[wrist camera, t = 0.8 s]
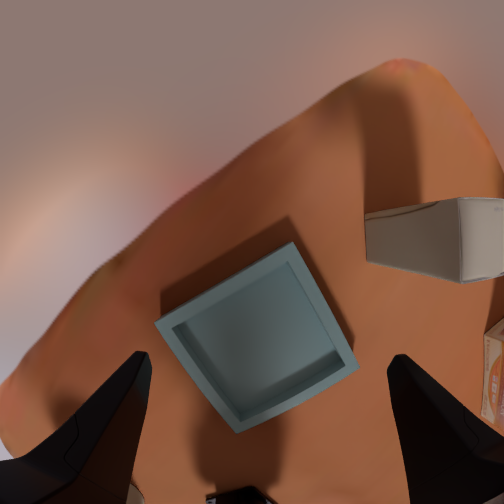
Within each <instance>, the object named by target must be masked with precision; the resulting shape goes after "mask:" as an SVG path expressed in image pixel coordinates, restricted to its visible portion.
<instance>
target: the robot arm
mask: <svg viewBox="0 0 504 504" xmlns="http://www.w3.org/2000/svg"><path fill="white" fill-rule="evenodd" d="M151 375H152V365H151V362H150V359H149V355H148V353H147V352H143V351H135V352H134V353H133V354H132V355H131V356H130V357H129V358H128V359H127V360H126V361H125V362H124V363H123V364H122V365H121V366H120V367H119V368H118V369H117V370H116V371H115V372H114V373H113V374H112V375H111V376H110V377H109V378H108V379H107V380H106V381H105V382H104V383H103V384H102V385H101V386H100V387H99V388H98V389H97V390H96V391H95V392H94V393H93V394H92V395H91V396H90V398H89V399H88V400H87V401H86V402H85V403H84V404H83V405H82V406H81V407H80V408H79V409H78V410H77V411H76V412H75V414H73V415H72V416H71V417H70V418H69V419H68V420H67V421H66V422H65V423H64V424H63V425H62V426H61V427H60V428H58V429H57V430H56V431H55V432H54V433H53V434H51V435H50V436H49V437H48V438H47V439H45V440H44V441H43V442H41V443H40V444H39V445H38V446H36V447H35V448H34V449H33V450H31V451H30V452H29V453H27V454H26V455H24V456H21V457H19V458H15V459H10V460H3V461H0V504H126V502H127V497H128V491H129V486H130V481H131V476H132V471H133V466H134V462H135V457H136V453H137V448H138V444H139V440H140V435H141V431H142V427H143V423H144V419H145V415H146V410H147V404H148V397H149V389H150V382H151ZM387 377H388V384H389V390H390V397H391V404H392V409H393V413H394V418H395V422H396V426H397V431H398V435H399V440H400V445H401V450H402V455H403V460H404V465H405V471H406V477H407V483H408V490H409V498H410V504H504V437H503V436H502V435H500V434H499V433H497V432H496V431H495V430H493V429H492V428H491V427H489V426H488V425H487V424H485V423H484V422H483V421H481V420H480V419H479V418H478V417H476V416H475V415H474V414H473V413H472V412H471V411H469V410H468V409H467V408H466V407H465V406H463V404H462V403H461V402H459V401H458V400H457V399H456V398H455V397H454V396H453V395H452V394H451V393H449V392H448V391H447V390H446V389H445V388H444V387H443V386H442V385H440V384H439V383H438V382H437V381H436V380H435V379H434V378H432V377H431V376H430V375H429V374H428V373H427V372H426V371H424V370H423V369H422V368H421V367H420V366H419V365H418V364H416V363H415V362H414V361H413V360H412V359H411V358H410V357H408V356H407V355H406V354H398V355H395V356H394V358H393V360H392V361H391V363H390V365H389V366H388V369H387ZM206 503H207V504H274V503H273V502H271V501H270V500H269V499H268V498H267V497H265V496H264V495H263V494H262V493H261V492H260V491H258V490H257V489H256V488H255V487H253V486H248V487H245V488H242V489H239V490H236V491H233V492H229V493H226V494H222V495H219V496H215V497H211V498H207V499H206Z"/></svg>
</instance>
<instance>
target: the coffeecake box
mask: <svg viewBox="0 0 504 504" xmlns="http://www.w3.org/2000/svg"><path fill="white" fill-rule="evenodd" d="M481 416H483V417H484V418H486V419H487V420H488V421H490V422H491V423H493V424H494V425H495V426H497V427H498V428H500V429H501V430H502V431H504V318H503V319H502V320H501V321H499V322H498V323H497V324H496V325H494V326H493V327H492V328H491V329H490V330H489V331H487V332H486V333H485V334H484V387H483V400H482V410H481Z"/></svg>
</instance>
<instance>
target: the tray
mask: <svg viewBox="0 0 504 504" xmlns="http://www.w3.org/2000/svg"><path fill="white" fill-rule="evenodd" d="M154 324H155V326H156V327H157V329H158V330H159V332H160V333H161V335H162V336H163V338H164V339H165V341H166V342H167V344H168V345H169V347H170V348H171V350H172V351H173V353H174V354H175V356H176V357H177V359H178V360H179V361H180V363H181V364H182V366H183V367H184V368H185V370H186V371H187V373H188V374H189V375H190V377H191V378H192V379H193V381H194V382H195V383H196V385H197V386H198V387H199V389H200V390H201V391H202V393H203V394H204V395H205V396H206V398H207V399H208V400H209V402H210V403H211V404H212V405H213V407H214V408H215V409H216V410H217V412H218V413H219V414H220V415H221V416H222V418H223V419H224V420H225V421H226V422H227V424H228V425H229V426H230V427H231V428H232V429H233V431H234V432H235V433H236V434H238V433H240V432H243V431H245V430H247V429H249V428H252V427H254V426H256V425H258V424H260V423H263V422H265V421H267V420H269V419H271V418H273V417H275V416H277V415H279V414H281V413H283V412H285V411H287V410H289V409H291V408H293V407H295V406H297V405H299V404H300V403H302V402H304V401H306V400H308V399H310V398H311V397H313V396H315V395H317V394H318V393H320V392H322V391H324V390H325V389H327V388H329V387H330V386H332V385H334V384H335V383H337V382H339V381H340V380H342V379H343V378H345V377H347V376H348V375H350V374H351V373H353V372H354V371H356V370H357V369H359V368H360V366H359V364H358V362H357V360H356V358H355V356H354V354H353V352H352V350H351V348H350V346H349V344H348V342H347V340H346V338H345V337H344V335H343V333H342V331H341V329H340V327H339V325H338V323H337V321H336V319H335V317H334V315H333V314H332V312H331V310H330V308H329V306H328V304H327V302H326V301H325V299H324V297H323V295H322V293H321V291H320V289H319V288H318V286H317V284H316V282H315V280H314V278H313V277H312V275H311V273H310V271H309V269H308V268H307V266H306V264H305V262H304V260H303V259H302V257H301V255H300V253H299V252H298V250H297V248H296V246H295V245H294V243H293V242H287V243H285V244H284V245H282V246H280V247H279V248H277V249H275V250H274V251H272V252H270V253H269V254H267V255H265V256H264V257H262V258H260V259H258V260H257V261H255V262H253V263H252V264H250V265H248V266H247V267H245V268H243V269H241V270H240V271H238V272H236V273H235V274H233V275H231V276H230V277H228V278H226V279H224V280H223V281H221V282H219V283H218V284H216V285H214V286H212V287H211V288H209V289H207V290H206V291H204V292H202V293H200V294H199V295H197V296H195V297H193V298H192V299H190V300H188V301H187V302H185V303H183V304H181V305H180V306H178V307H176V308H174V309H173V310H171V311H169V312H168V313H166V314H164V315H162V316H161V317H160V318H159V319H158V320H156V321H155V322H154Z"/></svg>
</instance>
